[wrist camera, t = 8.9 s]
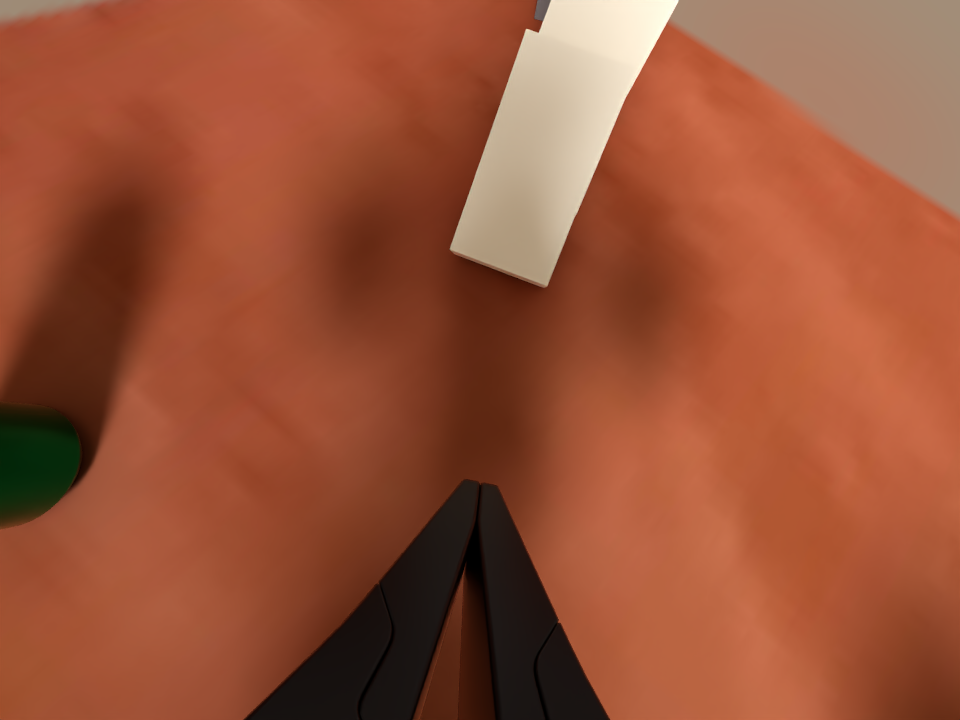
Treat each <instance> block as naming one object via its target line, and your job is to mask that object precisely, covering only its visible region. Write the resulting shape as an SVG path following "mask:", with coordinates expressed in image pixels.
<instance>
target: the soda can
mask: <svg viewBox="0 0 960 720" xmlns="http://www.w3.org/2000/svg"><path fill="white" fill-rule="evenodd" d="M81 460H82V446H81V441H80V438H79V436H78V433H77V431H76V430H75V428H74V427H73V425H72V424H71V422H70V421H69V420H68V419H67V418H66V417H65V416H64V415H62V414H61V413H60V412H58V411H56V410H54V409H52V408H50V407H47V406H43V405H38V404H27V403H15V402H2V401H0V529H5V528H10V527H14V526H19V525H22V524H24V523H27V522H30V521H32V520H34V519H35V518H37V517H39V516H41V515H42V514H44V513H45V512H47V511H48V510H49V509H51V508H52V507H53V506H54V505H55V504H56V503H57V502H58V501H59V500H60V499H61V498H62V497H63V495H64V494H65V493H66V492H67V491H68V490H69V488H70V487H71V485H72V484H73V482H74V480H75V478H76V476H77V474H78V472H79V469H80V465H81Z"/></svg>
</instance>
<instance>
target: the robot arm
mask: <svg viewBox="0 0 960 720" xmlns="http://www.w3.org/2000/svg"><path fill="white" fill-rule="evenodd" d="M464 567H465V570H464ZM463 571H464V582H463V606H462V630H461V654H460V678H459V703H458V720H610V718H609V717H608V715H607V713H606V711H605V710H604V708H603V706H602V704H601V702H600V700H599V699H598V697H597V695H596V693H595V691H594V689H593V688H592V686H591V684H590V682H589V680H588V678H587V677H586V675H585V673H584V671H583V669H582V667H581V665H580V662H579V660H578V658H577V656H576V654H575V652H574V650H573V648H572V646H571V644H570V642H569V640H568V638H567V635H566V633H565V631H564V629H563V627H562V624H561V623H558V621H559V619H558V617H557V615H556V612H555V610H554V608H553V606H552V604H551V602H550V599H549V597H548V595H547V593H546V591H545V588H544V586H543V584H542V582H541V580H540V578H539V575H538V573H537V571H536V569H535V567H534V564H533V562H532V560H531V558H530V556H529V554H528V551H527V549H526V547H525V545H524V543H523V540H522V538H521V536H520V534H519V532H518V530H517V527H516V525H515V523H514V521H513V519H512V516H511V514H510V512H509V510H508V508H507V505H506V503H505V501H504V499H503V497H502V495H501V492H500V490H499V488H498V487H497V486H496V485H492V484H488V483H481V485H480V483H479V482H478V481H473V480H469V479H464V480H463V481H462V482H461V483H460V484H459V485H458V487H457V488H456V489H455V490H454V491H453V493H452V494H451V495H450V496H449V497H448V499H447V500H446V501H445V502H444V503H443V505H442V506H441V507H440V508H439V509H438V511H437V512H436V513H435V514H434V515H433V517H432V518H431V519H430V520H429V521H428V523H427V524H426V525H425V526H424V527H423V529H422V530H421V531H420V532H419V533H418V535H417V536H416V537H415V538H414V539H413V541H412V542H411V543H410V544H409V546H408V547H407V548H406V549H405V550H404V552H403V553H402V554H401V555H400V556H399V558H398V559H397V560H396V561H395V562H394V564H393V565H392V566H391V567H390V568H389V570H388V571H387V572H386V573H385V574H384V576H383V577H382V578H381V579H380V580H379V584H376V585H375V586H374V587H373V588H372V589H371V591H370V592H369V593H368V594H367V595H366V597H365V598H364V599H363V600H362V601H361V602H360V603H359V605H358V606H357V607H356V608H355V609H354V610H353V611H352V613H351V614H350V615H349V616H348V617H347V618H346V619H345V620H344V622H343V623H342V624H341V625H340V626H339V627H338V628H337V629H336V630H335V631H334V632H333V633H332V634H331V635H330V636H329V637H328V638H327V639H326V640H325V641H324V642H323V643H322V644H321V645H320V646H319V647H318V648H317V649H316V650H315V651H314V652H313V653H312V654H311V655H310V656H309V657H308V658H307V659H306V660H305V661H304V662H303V663H302V664H301V665H300V666H299V667H297V668H296V669H295V670H294V671H293V672H292V673H291V674H290V675H289V676H288V677H287V678H286V679H285V680H284V681H283V682H282V683H281V684H280V685H279V686H278V687H277V688H276V689H275V690H274V691H273V692H272V693H271V694H269V695H268V696H267V697H266V698H265V699H264V700H263V701H262V702H261V703H260V704H259V705H258V706H257V707H256V708H255V709H254V710H253V711H252V712H251V713H250V714H249V715H248V716H247V717H246V718H245V719H244V720H420V717H421V714H422V711H423V707H424V704H425V700H426V697H427V694H428V690H429V687H430V684H431V680H432V677H433V673H434V670H435V667H436V663H437V660H438V657H439V653H440V650H441V647H442V643H443V640H444V636H445V633H446V630H447V626H448V623H449V620H450V616H451V613H452V609H453V606H454V603H455V599H456V596H457V593H458V589H459V586H460V582H461V579H462V575H463Z"/></svg>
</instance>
